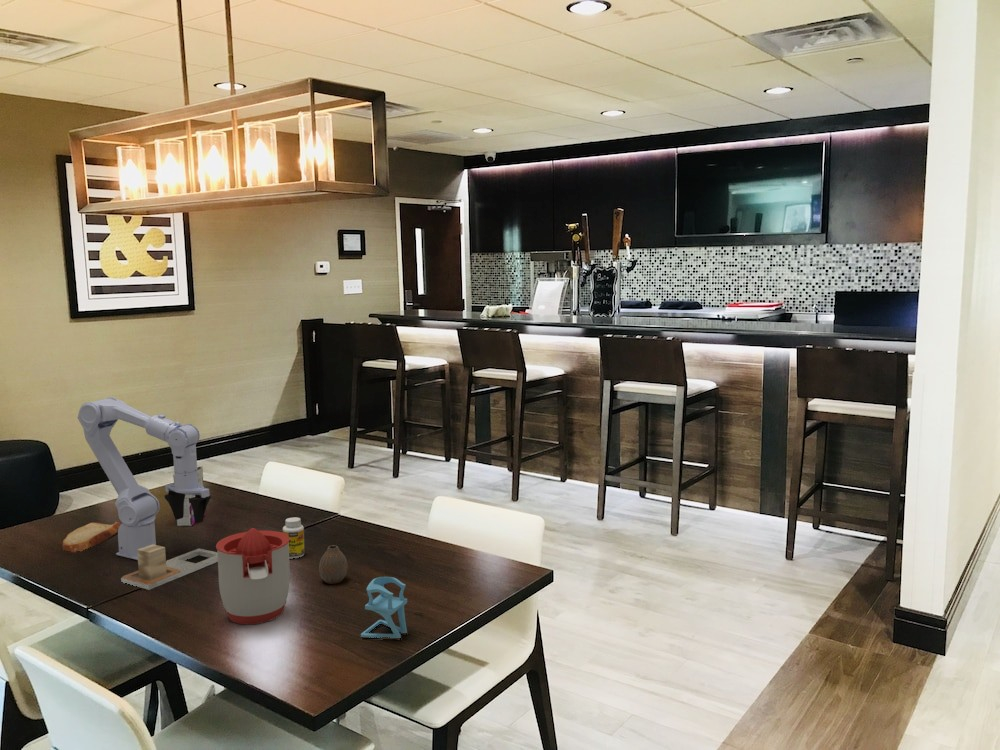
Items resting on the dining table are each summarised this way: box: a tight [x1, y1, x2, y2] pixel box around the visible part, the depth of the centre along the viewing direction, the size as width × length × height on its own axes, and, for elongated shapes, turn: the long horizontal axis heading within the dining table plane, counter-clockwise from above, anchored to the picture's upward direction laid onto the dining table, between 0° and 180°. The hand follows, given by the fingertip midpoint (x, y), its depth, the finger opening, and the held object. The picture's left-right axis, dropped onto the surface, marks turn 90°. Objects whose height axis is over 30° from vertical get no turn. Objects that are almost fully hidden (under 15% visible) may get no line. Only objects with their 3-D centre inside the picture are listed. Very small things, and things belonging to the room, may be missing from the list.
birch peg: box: [137, 544, 167, 581], centre depth 194 cm, size 4×4×8 cm
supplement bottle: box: [282, 516, 305, 560], centre depth 210 cm, size 6×6×10 cm
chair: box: [360, 576, 408, 639], centre depth 163 cm, size 8×8×12 cm
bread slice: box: [61, 521, 122, 553], centre depth 225 cm, size 18×18×4 cm
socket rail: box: [120, 548, 218, 591], centre depth 200 cm, size 10×24×2 cm, turn 153°
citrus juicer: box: [215, 527, 291, 626], centre depth 172 cm, size 16×17×20 cm
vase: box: [318, 544, 349, 585], centre depth 193 cm, size 7×7×9 cm
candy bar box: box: [172, 465, 206, 527], centre depth 240 cm, size 11×5×16 cm, turn 179°
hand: (189, 520), depth 208 cm, fingers open, 7 cm apart
